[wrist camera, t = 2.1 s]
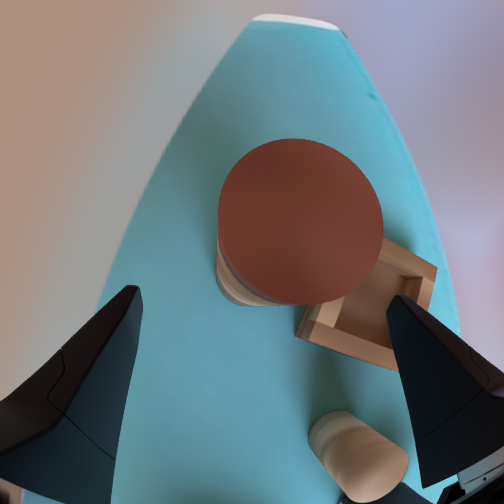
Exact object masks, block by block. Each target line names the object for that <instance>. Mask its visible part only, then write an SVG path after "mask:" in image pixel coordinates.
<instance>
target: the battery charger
mask: <svg viewBox="0 0 504 504" xmlns="http://www.w3.org/2000/svg"><path fill="white" fill-rule="evenodd" d="M339 504H433V503H431V502H430V501H428V500H427V499H425V498H424V497H422V496H421V495H419V494H418V493H416V492H415V491H414V490H413V489H411V488H410V487H409V486H408V485H406V484H405V483H403V482H402V483H398V485H397V486H396V487H395V488H394V489H393V490H391V491H390V492H389V493H387V494H386V495H384V496H383V497H381V498H379V499H377V500H374V501H371V502H366V503H359V502H355V501H352V500H351V499H350V498H349V497H348V496H344V497H343V498H342V500H341V501H340V503H339Z"/></svg>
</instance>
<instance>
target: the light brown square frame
mask: <svg viewBox="0 0 504 504" xmlns="http://www.w3.org/2000/svg"><path fill="white" fill-rule="evenodd" d="M436 273H437V267H436V266H434V265H432V264H431V263H429V262H427V261H426V260H424V259H422V258H420V257H419V256H417V255H415V254H414V253H412V252H410V251H408V250H406V249H405V248H403V247H401V246H399V245H398V244H396V243H394V242H392V241H390V240H388V239H387V238H385V237H383V242H382V247H381V251H380V254H379V257H378V260H377V262H376V264H375V266H374V268H373V269H372V271H371V272H370V274H369V275H368V277H367V278H366V279H365V280H364V281H363V282H362V283H361V284H360V285H359V286H358V287H357V288H356V289H354V290H353V291H352V292H350V293H348V294H347V295H345V296H343V297H341V298H339V299H336V300H334V301H330V302H326V303H321V304H310V305H307V307H306V309H305V312H304V314H303V317H302V319H301V322H300V324H299V327H298V329H297V332H296V334H295V337H298V338H301V339H303V340H306V341H309V342H311V343H314V344H317V345H319V346H322V347H325V348H328V349H330V350H333V351H336V352H339V353H342V354H344V355H347V356H350V357H353V358H356V359H359V360H362V361H365V362H368V363H371V364H374V365H377V366H380V367H383V368H386V369H390V370H395V371H399V370H398V366H397V363H396V359H395V356H394V352H393V348H392V343H391V338H390V333H389V328H388V323H387V318H386V310H387V308H388V306H389V304H390V302H391V301H392V299H393V297H394V296H395V295H396V294H405V295H406V296H408V297H409V298H410V299H412V300H413V301H414V302H416V303H417V304H418V305H419V306H421V307H422V308H423V309H425V310H426V311H428V307H429V303H430V299H431V295H432V291H433V287H434V282H435V278H436Z"/></svg>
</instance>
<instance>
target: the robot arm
mask: <svg viewBox="0 0 504 504" xmlns="http://www.w3.org/2000/svg"><path fill="white" fill-rule="evenodd" d="M142 313H143V302H142V297H141V291H140V288H139V286H136V285H127V286H125V287H124V288H123V289H122V290H121V291H120V292H119V293H118V294H116V295H115V296H114V297H113V298H112V299H111V300H110V301H109V302H108V303H107V304H106V305H105V306H104V307H102V308H101V309H100V310H99V311H98V312H97V313H96V314H95V315H94V316H93V317H92V318H91V319H90V320H89V321H88V322H87V323H86V324H85V325H84V326H83V327H82V328H81V329H79V331H77V332H76V333H75V334H74V335H73V336H72V337H71V338H70V339H69V340H68V341H67V342H66V343H65V344H64V345H63V346H62V347H61V349H59V350H58V351H57V352H56V353H55V354H54V355H53V356H52V357H51V358H50V359H49V360H48V361H47V362H46V363H45V364H44V365H43V366H42V367H41V368H40V369H39V370H37V371H36V372H35V373H34V374H33V375H32V376H31V377H29V378H28V379H27V380H26V381H25V382H23V383H22V384H21V385H20V386H19V387H18V388H17V389H15V390H14V391H13V392H12V393H11V394H10V395H8V396H7V397H6V398H4V399H3V400H1V401H0V504H111V494H112V485H113V477H114V469H115V460H116V454H117V448H118V442H119V436H120V430H121V424H122V419H123V414H124V409H125V404H126V399H127V394H128V389H129V384H130V380H131V376H132V371H133V367H134V363H135V358H136V354H137V349H138V342H139V334H140V327H141V320H142ZM386 318H387V323H388V328H389V333H390V338H391V343H392V348H393V352H394V356H395V359H396V363H397V366H398V370H399V374H400V378H401V381H402V385H403V389H404V393H405V397H406V402H407V406H408V410H409V415H410V419H411V424H412V429H413V434H414V439H415V445H416V451H417V457H418V463H419V470H420V477H421V484H422V488H423V489H424V488H427V487H429V486H431V485H434V484H436V483H438V482H440V481H443V480H445V479H447V478H449V477H451V476H453V475H455V474H457V477H458V481H457V482H455V483H453V484H451V485H449V486H447V487H445V488H444V489H443V491H442V493H441V496H440V498H439V500H438V502H437V504H504V373H503V372H502V371H501V370H499V369H498V368H497V367H495V366H494V365H493V364H491V363H490V362H489V361H487V360H486V359H485V358H484V357H482V356H481V355H480V354H479V353H477V352H476V351H475V350H474V349H473V348H472V347H470V346H468V344H467V343H466V342H464V341H463V340H462V339H461V338H460V337H458V336H457V335H456V334H455V333H453V332H452V331H451V330H450V329H448V328H447V327H446V326H445V325H444V324H442V323H441V322H440V321H439V320H437V319H436V318H435V317H434V316H432V315H431V314H430V313H428V312H427V311H426V310H425V309H423V308H422V307H421V306H419V305H418V304H417V303H416V302H414V301H413V300H412V299H410V298H409V297H408V296H406V295H405V294H396V295H395V296H394V297H393V299H392V301H391V302H390V304H389V306H388V308H387V310H386Z"/></svg>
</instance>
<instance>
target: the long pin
mask: <svg viewBox="0 0 504 504" xmlns="http://www.w3.org/2000/svg"><path fill="white" fill-rule="evenodd" d="M382 242H383V217H382V211H381V207H380V204H379V201H378V198H377V196H376V193H375V191H374V189H373V187H372V185H371V184H370V182H369V180H368V179H367V178H366V176H365V175H364V173H363V172H362V171H361V170H360V169H359V168H358V167H357V166H356V165H355V164H354V163H353V162H352V161H351V160H350V159H348V158H347V157H346V156H344V155H343V154H342V153H340V152H338V151H337V150H335V149H333V148H331V147H329V146H326V145H324V144H321V143H318V142H315V141H311V140H305V139H281V140H276V141H272V142H269V143H266V144H263V145H261V146H259V147H257V148H255V149H253V150H252V151H250V152H249V153H247V154H246V155H245V156H244V157H243V158H241V159H240V160H239V161H238V162H237V164H236V165H235V166H234V167H233V168H232V170H231V171H230V173H229V175H228V176H227V178H226V180H225V183H224V185H223V187H222V191H221V195H220V199H219V208H218V230H217V265H216V279H217V284H218V287H219V289H220V291H221V292H222V294H223V295H224V296H225V297H226V298H227V299H228V300H229V301H231V302H233V303H235V304H237V305H241V306H281V305H310V304H321V303H326V302H330V301H334V300H336V299H339V298H341V297H343V296H345V295H347V294H348V293H350V292H352V291H353V290H354V289H356V288H357V287H358V286H359V285H360V284H361V283H362V282H363V281H364V280H365V279H366V278H367V277H368V275H369V274H370V272H371V271H372V269H373V268H374V266H375V264H376V262H377V260H378V257H379V254H380V251H381V247H382Z"/></svg>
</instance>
